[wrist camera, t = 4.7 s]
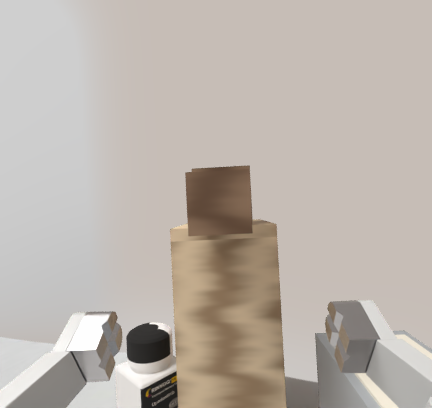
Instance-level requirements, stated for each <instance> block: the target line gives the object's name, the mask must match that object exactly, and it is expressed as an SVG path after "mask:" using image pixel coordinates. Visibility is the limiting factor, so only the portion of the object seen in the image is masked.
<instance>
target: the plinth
mask: <svg viewBox="0 0 432 408" xmlns="http://www.w3.org/2000/svg"><path fill="white" fill-rule="evenodd" d="M393 333H394V334H395V336H396V337H397V339H403V340H404V341H406V342H407V343H408V344H410V345H411V346H413V347H414V348H416V349H417V350H419V351H420V352H421V353H423V354H424V355H426V356H427V357H429V358H430V359H431V360H432V349H431V348H429V347H428V346H426V345H424V344H423V343H422V342H420V341H419V340H417V339H416V338H414V337H413V336H412V335H410V334H409V333H407V332H406V331H393ZM315 338H316V355H317V370H318V372H317V373H318V390H319V408H399V407H398V406H397V405H396V404H395V403H394V402H393V401H392V400H391V399H390V398H389V397H388V396H387V395H386V394H385V393H384V392H383V391H382V390H381V389H380V388H379V387H378V386H377V385H376V384H375V383H374V382H373V381H372V380H371V379H370V378H369V377H368V376H367V375H366V373H341V371H340V369H339V366H338V363H337V361H336V358H335V356H334V354H335V349H336V348H335V347H333V346H332V345H331V344H330V342H329V340H328V337H327V333H317V334H316V333H315Z"/></svg>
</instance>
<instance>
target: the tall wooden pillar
mask: <svg viewBox="0 0 432 408" xmlns="http://www.w3.org/2000/svg"><path fill="white" fill-rule="evenodd" d="M252 223H253V224H252V231H253V233H250V234H228V235H206V236H188V223H187V224H185V225H181V226H178V227H175V228H172V229H170V234H171V257H172V279H173V302H174V324H175V346H176V368H177V391H178V408H286V391H285V373H284V355H283V336H282V318H281V300H280V281H279V263H278V245H277V226H276V224H274V223H271V222H267V221H263V220H260V219H258V220H257V219H256V220H252Z"/></svg>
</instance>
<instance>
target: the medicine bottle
mask: <svg viewBox="0 0 432 408" xmlns="http://www.w3.org/2000/svg"><path fill="white" fill-rule="evenodd" d="M115 378H116V404H117V408H178V391H177V368H176V357H175V356H173V346H172V329H171V328H170V327H169V326H168V325H166V324H162V323H155V322H153V323H146V324H142V325H140V326H137V327H136V328H134V329H132V330H131V331H130V332H129V333H128V335H127V361H126V362H123V363H121V364H119V365H117V366H116V367H115Z"/></svg>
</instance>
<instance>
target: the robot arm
mask: <svg viewBox="0 0 432 408" xmlns="http://www.w3.org/2000/svg"><path fill="white" fill-rule="evenodd" d="M328 311H329V315H328V316H327V317H326V322H325V325H326V333H327V337H328V340H329V342H330V344H331V345H332V346H333V347H335V348H336V349H335V354H334V356H335V358H336V361H337V363H338V366H339V369H340V371H341V373H366V375H367V376H368V377H369V378H370V379H371V380H372V381H373V382H374V383H375V384H376V385H377V386H378V387H379V388H380V389H381V390H382V391H383V392H384V393H385V394H386V395H387V396H388V397H389V398H390V399H391V400H392V401H393V402H394V403H395V404H396V405H397V406H398V407H399V408H432V360H431V359H430V358H429V357H427V356H426V355H424V354H423V353H421V352H420V351H419V350H417V349H416V348H414V347H413V346H411V345H410V344H408V343H407V342H406V341H404V340H403V339H397V337H396V336H395V334H394V333H393V331H392V329H391V328H390V326H389V325H388V323H387V321H386V320H385V318H384V317H383V316H382V313H381V312H380V310H379V309H378V307H377V305H376V304H375V302H373V301H372V300H359V301H337V302H330V303H329V304H328ZM116 321H117V315H116V312H76V313H74V314H73V315H72V316H71V318H70V319H69V321H68V323H67V325H66V327H65V328H64V330H63V332H62V334H61V336H60V337H59V339H58V341H57V343H56V345H55V346H54V348H53V350H52V352H47V353H46V354H45V355H43V356H42V357H41V358H40V359H38V360H37V361H36V362H35V363H33V364H32V365H31V366H30V367H28V368H27V369H26V370H25V371H24V372H22V373H21V374H20V375H19V376H17V377H16V378H15V379H14V380H12V381H11V382H10V383H9V384H7V385H6V386H5V387H4V388H2V389H1V390H0V408H66V407H67V406H68V405H69V403H70V402H71V401H72V400H73V399H74V398H75V396H76V395H77V394H78V393H79V392H80V391H81V389H82V388H83V387H84V386H85V385H86V382H99V381H109V380H110V377H111V374H112V371H113V368H114V365H115V361H114V358H113V357H114V356H115V355H116V354H117V353H118V352H119V350H120V347H121V343H122V329H121V326H120V325H119V324H118V323H116Z"/></svg>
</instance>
